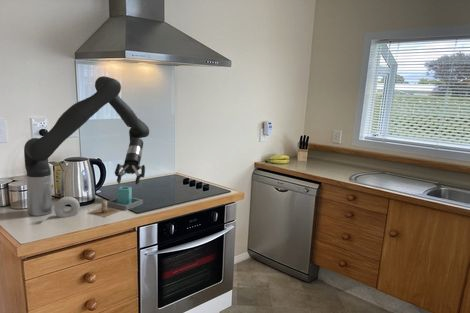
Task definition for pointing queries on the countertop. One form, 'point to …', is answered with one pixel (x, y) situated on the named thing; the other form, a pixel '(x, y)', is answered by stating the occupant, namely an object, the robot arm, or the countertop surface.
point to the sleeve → (125, 195)
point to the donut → (64, 201)
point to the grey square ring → (115, 204)
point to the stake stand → (104, 210)
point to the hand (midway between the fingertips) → (127, 183)
